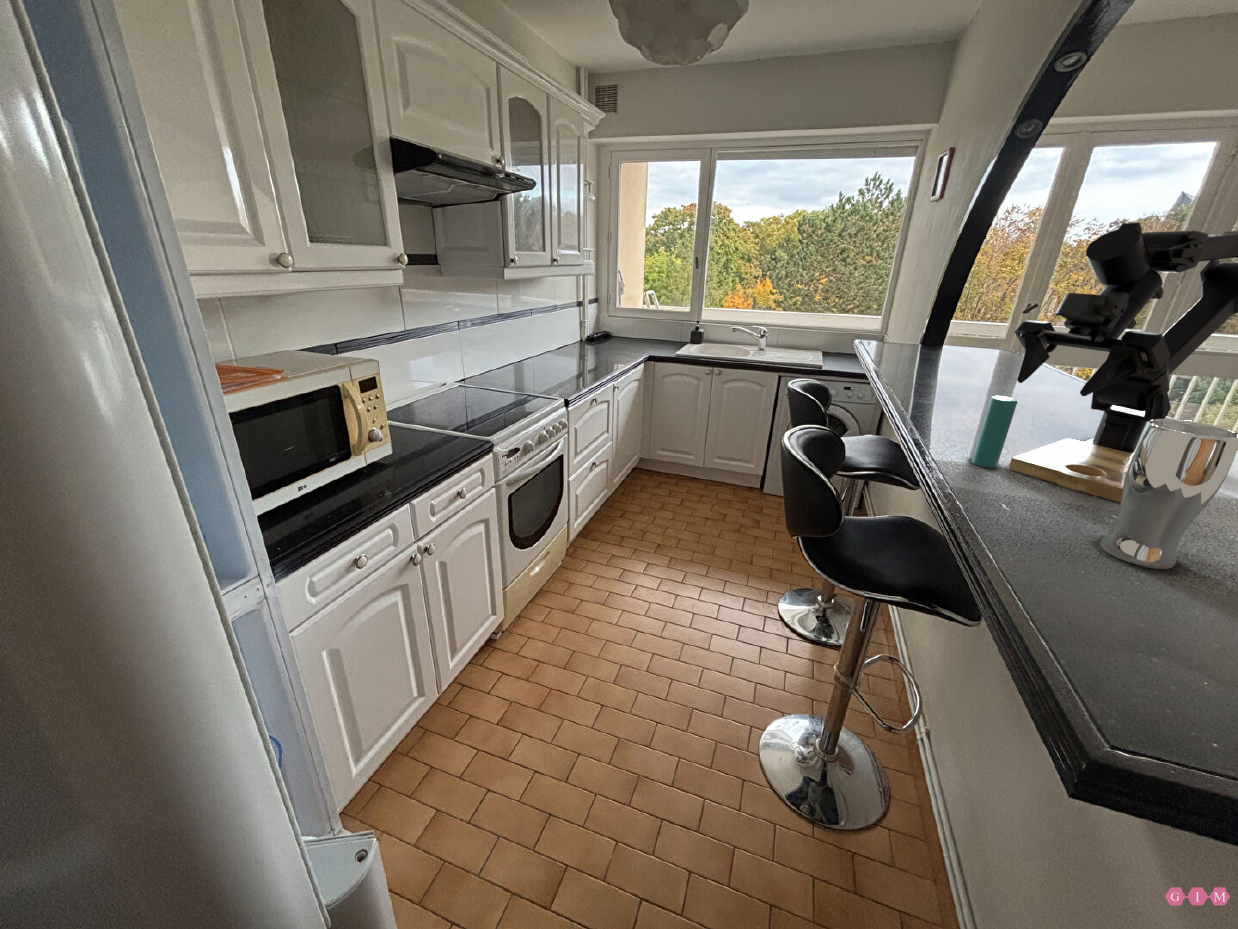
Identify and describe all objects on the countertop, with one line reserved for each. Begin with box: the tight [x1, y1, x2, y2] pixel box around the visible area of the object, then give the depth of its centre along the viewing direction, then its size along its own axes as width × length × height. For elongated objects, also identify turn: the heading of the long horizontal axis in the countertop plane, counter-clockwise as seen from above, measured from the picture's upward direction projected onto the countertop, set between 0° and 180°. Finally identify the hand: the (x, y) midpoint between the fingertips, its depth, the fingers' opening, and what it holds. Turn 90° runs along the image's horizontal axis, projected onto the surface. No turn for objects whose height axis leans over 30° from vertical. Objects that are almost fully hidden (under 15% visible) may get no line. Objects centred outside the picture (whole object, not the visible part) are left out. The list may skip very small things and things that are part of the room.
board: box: [1008, 438, 1133, 504], centre depth 79 cm, size 20×14×2 cm
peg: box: [971, 395, 1019, 469], centre depth 80 cm, size 3×3×11 cm
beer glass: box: [1100, 418, 1238, 570], centre depth 54 cm, size 7×7×15 cm
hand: (1048, 387), depth 79 cm, fingers open, 9 cm apart
